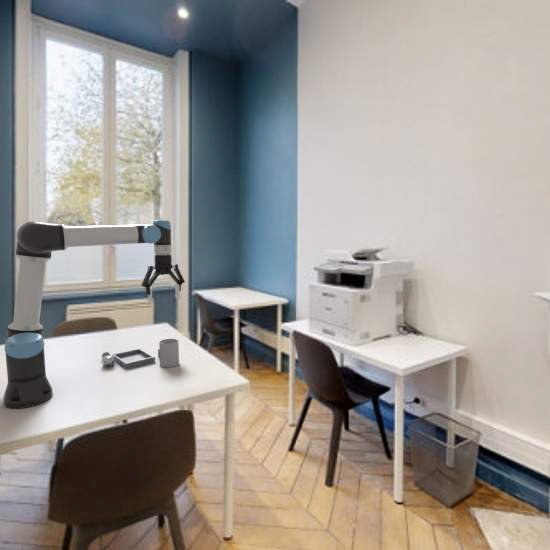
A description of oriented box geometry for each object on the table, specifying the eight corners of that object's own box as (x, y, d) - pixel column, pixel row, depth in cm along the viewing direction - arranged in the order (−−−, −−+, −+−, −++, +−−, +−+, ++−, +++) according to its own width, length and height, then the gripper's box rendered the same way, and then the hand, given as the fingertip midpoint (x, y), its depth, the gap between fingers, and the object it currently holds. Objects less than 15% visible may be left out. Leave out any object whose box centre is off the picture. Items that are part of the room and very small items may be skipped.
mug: (180, 366, 176) (179, 343, 175) (160, 368, 173) (159, 344, 172) (177, 358, 188) (176, 335, 186) (158, 360, 185) (157, 337, 183)
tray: (125, 369, 173) (125, 363, 173) (112, 359, 185) (112, 354, 185) (155, 361, 182) (154, 357, 182) (140, 353, 194) (139, 348, 194)
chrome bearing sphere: (104, 368, 173) (104, 359, 173) (101, 365, 177) (100, 357, 177) (116, 365, 177) (115, 357, 176) (112, 363, 180) (111, 354, 180)
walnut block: (162, 359, 186) (161, 351, 185) (158, 357, 189) (158, 349, 188) (169, 357, 188) (169, 349, 188) (166, 355, 191) (165, 347, 191)
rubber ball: (103, 361, 182) (103, 353, 182) (100, 359, 185) (100, 351, 184) (111, 359, 185) (111, 352, 184) (108, 357, 187) (108, 350, 187)
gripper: (139, 256, 167) (141, 304, 170) (191, 253, 184) (192, 297, 187) (132, 255, 173) (134, 302, 176) (183, 252, 190) (184, 295, 192)
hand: (164, 300), depth 181 cm, fingers open, 13 cm apart
